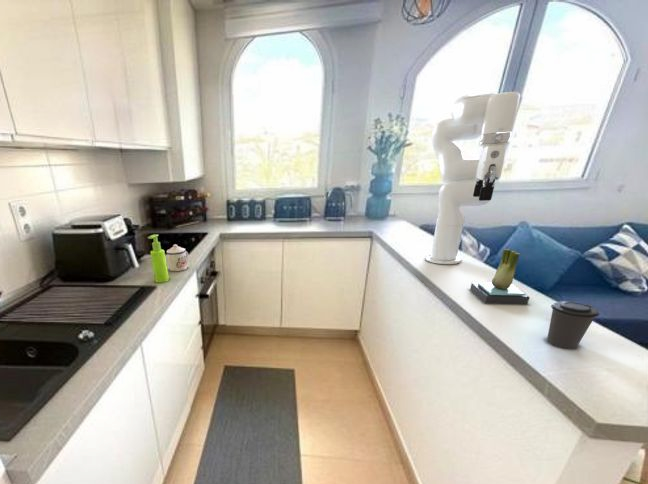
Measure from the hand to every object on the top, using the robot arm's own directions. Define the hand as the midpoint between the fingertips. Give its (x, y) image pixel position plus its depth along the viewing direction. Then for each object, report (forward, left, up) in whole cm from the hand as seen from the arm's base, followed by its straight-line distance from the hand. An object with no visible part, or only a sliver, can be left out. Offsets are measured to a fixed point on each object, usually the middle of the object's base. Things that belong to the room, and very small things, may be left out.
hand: (481, 198), depth 112 cm
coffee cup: (+44, +14, -28) cm, 54 cm away
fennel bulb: (+16, +7, -25) cm, 31 cm away
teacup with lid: (+5, -117, -28) cm, 120 cm away
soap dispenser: (+24, -115, -28) cm, 121 cm away
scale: (+15, +7, -28) cm, 33 cm away
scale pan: (+16, +7, -26) cm, 31 cm away
